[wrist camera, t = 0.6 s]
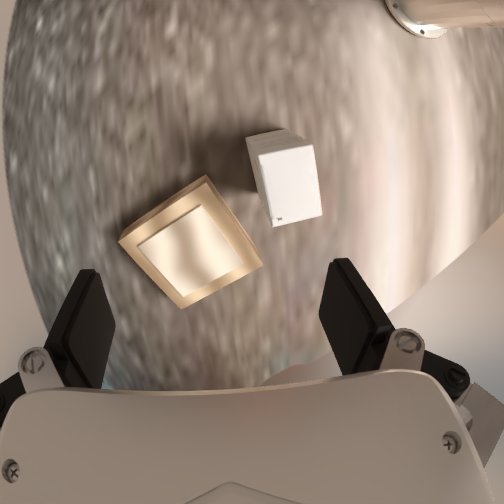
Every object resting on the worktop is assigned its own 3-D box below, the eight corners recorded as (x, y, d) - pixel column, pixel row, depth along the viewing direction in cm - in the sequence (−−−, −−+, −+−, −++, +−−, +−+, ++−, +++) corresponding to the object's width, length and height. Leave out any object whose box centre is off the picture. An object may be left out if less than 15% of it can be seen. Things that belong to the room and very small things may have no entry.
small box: (297, 184, 39) (324, 217, 31) (256, 193, 39) (272, 230, 31) (287, 127, 35) (314, 143, 26) (243, 136, 35) (256, 155, 26)
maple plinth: (206, 173, 37) (206, 183, 34) (259, 251, 44) (263, 266, 41) (124, 229, 39) (117, 243, 36) (182, 294, 46) (181, 311, 43)
